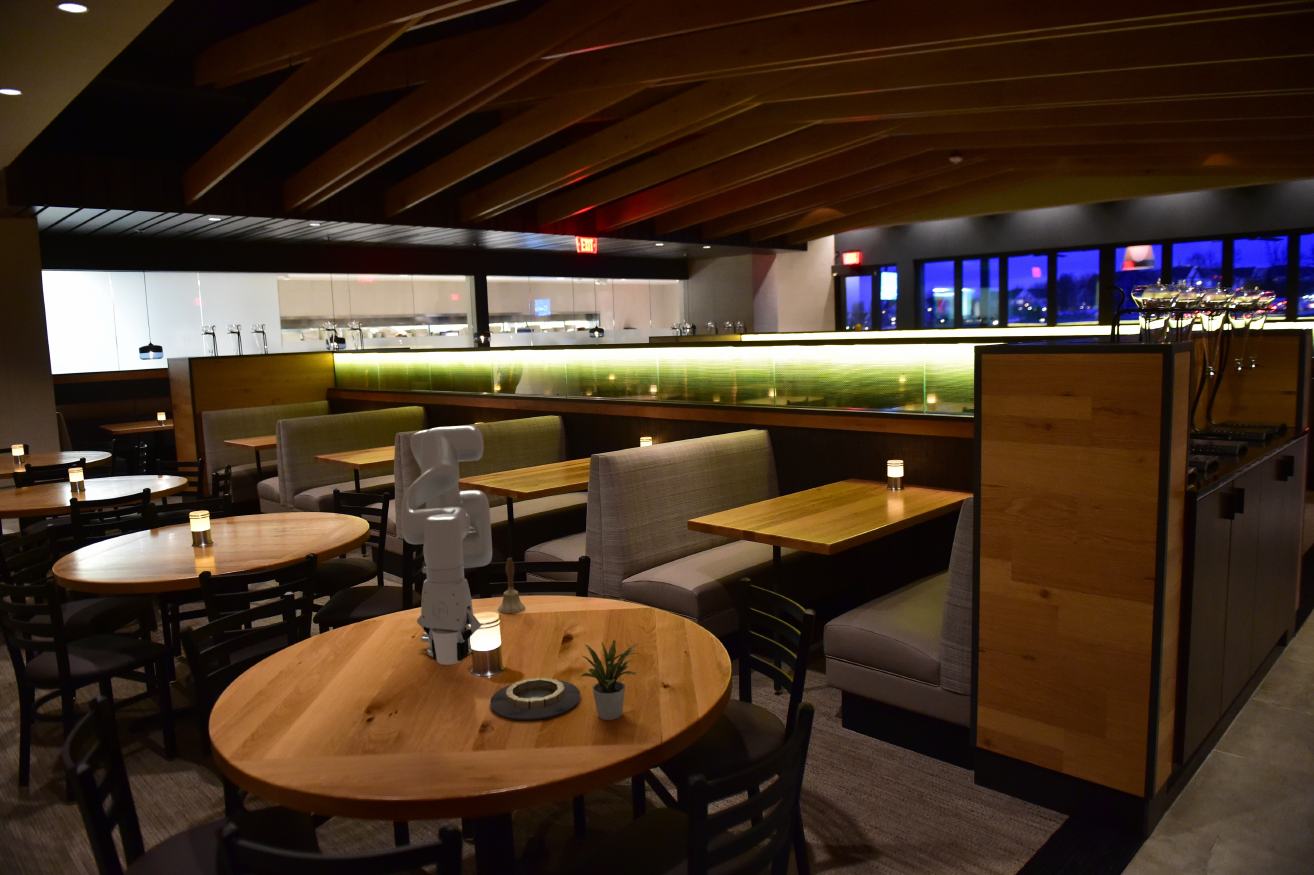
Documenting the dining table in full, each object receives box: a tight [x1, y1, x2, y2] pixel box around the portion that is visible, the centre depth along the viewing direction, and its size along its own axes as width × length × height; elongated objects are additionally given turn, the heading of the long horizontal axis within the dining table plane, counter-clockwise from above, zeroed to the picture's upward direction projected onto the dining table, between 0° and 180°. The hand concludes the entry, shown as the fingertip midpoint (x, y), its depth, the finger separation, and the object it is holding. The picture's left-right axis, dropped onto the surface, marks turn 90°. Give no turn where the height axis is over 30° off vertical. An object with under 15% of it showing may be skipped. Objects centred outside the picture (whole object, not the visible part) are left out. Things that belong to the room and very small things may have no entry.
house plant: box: [579, 639, 641, 721], centre depth 180 cm, size 14×14×16 cm
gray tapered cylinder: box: [432, 628, 465, 666], centre depth 178 cm, size 7×7×7 cm
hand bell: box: [497, 557, 526, 614], centre depth 256 cm, size 8×8×16 cm
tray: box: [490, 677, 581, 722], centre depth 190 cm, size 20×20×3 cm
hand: (450, 656), depth 178 cm, fingers closed on gray tapered cylinder, 5 cm apart
